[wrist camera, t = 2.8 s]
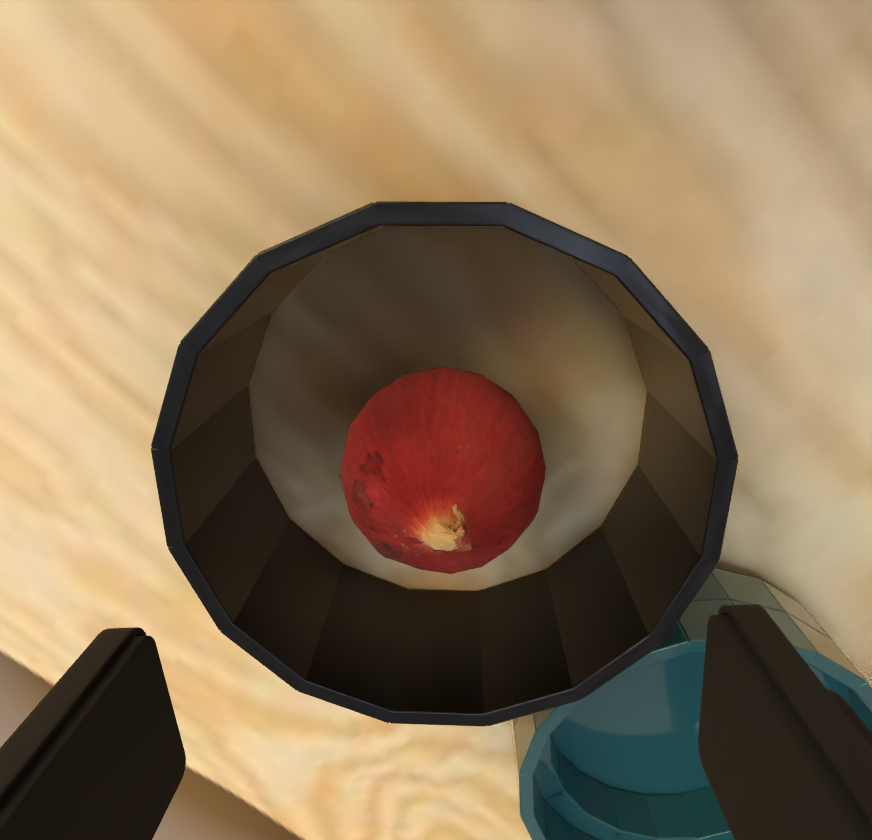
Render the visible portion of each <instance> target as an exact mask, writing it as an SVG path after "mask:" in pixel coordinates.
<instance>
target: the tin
mask: <svg viewBox="0 0 872 840" xmlns="http://www.w3.org/2000/svg"><path fill="white" fill-rule="evenodd" d="M387 226H502V227H505V228H508V229H510V230H512V231H514V232H517V233H519V234H521V235H523V236H526V237H528V238H530V239H532V240H535V241H537V242H539V243H541V244H544V245H546V246H548V247H550V248H553V249H555V250H557V251H559V252H562V253H564V254H566V255H568V256H570V257H572V258H573V260H574V261H575V262H576V263H577V264H578V265H579V266H580V267H581V268H582V270H583V271H584V272H585V273H586V274H587V275H588V276H589V277H590V279H591V280H592V281H593V282H594V283H595V284H596V285H597V286H598V288H599V289H600V290H601V291H602V292H603V293H604V294H605V295H606V297H607V298H608V299H609V300H610V301H611V302H612V303H613V304H614V305H615V307H616V308H617V309H618V310H619V311H620V312H621V313H622V314H623V316H624V317H625V320H626V324H627V327H628V330H629V333H630V337H631V340H632V343H633V346H634V350H635V353H636V356H637V359H638V363H639V366H640V369H641V372H642V376H643V379H644V382H645V385H646V389H647V397H646V405H645V413H644V421H643V429H642V437H641V444H640V452H639V460H638V465H637V467H636V469H635V470H634V472H633V474H632V475H631V477H630V479H629V481H628V482H627V484H626V486H625V487H624V489H623V491H622V492H621V494H620V496H619V498H618V499H617V501H616V503H615V504H614V506H613V508H612V509H611V511H610V513H609V515H608V516H607V518H606V520H605V521H604V523H603V525H602V526H601V527H600V528H599V529H597V530H596V531H595V532H594V533H592V534H591V535H590V536H588V537H587V538H586V539H585V540H583V541H582V542H581V543H579V544H578V545H577V546H576V547H574V548H573V549H572V550H570V551H569V552H568V553H567V554H565V555H564V556H563V557H561V558H560V559H559V560H558V561H556V562H555V563H554V564H552V565H551V566H550V567H549V568H547V569H546V570H544V571H541V572H537V573H534V574H531V575H528V576H525V577H522V578H519V579H516V580H512V581H509V582H506V583H503V584H500V585H497V586H494V587H491V588H487V589H484V590H481V591H446V590H409V589H406V588H403V587H401V586H398V585H395V584H393V583H390V582H387V581H385V580H382V579H379V578H377V577H374V576H371V575H369V574H366V573H363V572H361V571H358V570H355V569H353V568H350V567H347V566H345V565H343V564H341V563H340V562H339V561H338V560H337V559H336V558H334V557H333V556H332V555H331V554H330V553H328V552H327V551H326V550H325V549H324V548H323V547H321V546H320V545H319V544H318V543H317V542H316V541H314V540H313V539H312V538H311V537H310V536H308V535H307V534H306V533H305V532H304V531H303V530H301V529H300V528H299V527H298V526H297V525H296V524H294V523H293V522H292V521H291V520H290V519H289V518H288V516H287V514H286V512H285V511H284V509H283V507H282V505H281V503H280V501H279V500H278V498H277V496H276V494H275V492H274V490H273V489H272V487H271V485H270V483H269V481H268V479H267V478H266V476H265V474H264V472H263V470H262V468H261V467H260V465H259V463H258V461H257V459H256V457H255V449H254V440H253V430H252V420H251V411H250V401H249V392H248V383H249V380H250V377H251V374H252V371H253V367H254V364H255V361H256V358H257V355H258V352H259V349H260V346H261V343H262V340H263V336H264V333H265V330H266V327H267V324H268V321H269V318H270V315H271V312H272V311H273V310H274V309H275V308H276V307H277V306H278V305H279V304H280V303H281V301H282V300H283V299H284V298H285V297H286V296H287V295H288V294H289V293H290V292H291V290H292V289H293V288H294V287H295V286H296V285H297V284H298V283H299V282H300V281H301V279H302V278H303V277H304V276H305V275H306V274H307V273H308V272H309V271H310V270H311V268H312V267H313V266H314V265H315V264H316V263H317V262H318V261H319V260H320V259H321V257H322V256H323V255H324V254H325V253H327V252H329V251H332V250H334V249H336V248H338V247H341V246H343V245H345V244H348V243H350V242H352V241H355V240H357V239H359V238H361V237H364V236H366V235H368V234H371V233H373V232H375V231H377V230H380V229H382V228H384V227H387ZM180 343H181V344H179V346H178V350H177V353H176V357H175V360H174V364H173V368H172V371H171V375H170V379H169V382H168V386H167V390H166V393H165V397H164V401H163V404H162V408H161V412H160V415H159V419H158V422H157V426H156V430H155V433H154V437H153V441H152V444H151V447H152V448H151V452H152V458H153V464H154V470H155V476H156V482H157V488H158V494H159V500H160V506H161V512H162V518H163V524H164V530H165V536H166V542H167V546H168V547H169V548H168V549H169V551H170V553H171V554H172V556H173V557H174V559H175V560H176V562H177V564H178V565H179V567H180V568H181V570H182V572H183V573H184V575H185V576H186V578H187V580H188V581H189V583H190V584H191V586H192V588H193V589H194V591H195V592H196V594H197V595H198V597H199V599H200V600H201V602H202V603H203V605H204V607H205V608H206V610H207V611H208V613H209V615H210V616H211V618H212V619H213V621H214V622H215V624H216V626H217V627H218V629H219V630H221V633H223V634H224V635H225V636H227V637H228V638H229V639H230V640H232V641H233V642H234V643H236V644H237V645H238V646H240V647H241V648H242V649H243V650H245V651H246V652H247V653H249V654H250V655H251V656H253V657H254V658H255V659H256V660H258V661H259V662H260V663H262V664H263V665H264V666H265V667H267V668H268V669H269V670H271V671H272V672H273V673H275V674H276V675H277V676H278V677H280V678H281V679H282V680H284V681H285V682H286V683H287V684H289V685H290V686H291V687H293V688H294V689H295V690H298V691H299V692H302V693H304V694H307V695H310V696H313V697H316V698H319V699H322V700H324V701H327V702H330V703H333V704H336V705H339V706H341V707H344V708H347V709H350V710H353V711H356V712H359V713H361V714H364V715H367V716H370V717H373V718H376V719H378V720H381V721H384V722H387V723H389V722H390V723H400V724H429V725H459V726H486V725H487V726H490V725H494V724H497V723H501V722H505V721H508V720H512V719H515V718H519V717H522V716H526V715H529V714H533V713H537V712H540V711H544V710H547V709H551V708H554V707H558V706H562V705H565V704H569V703H572V702H576V701H579V700H580V699H583V698H585V697H586V696H588V695H589V694H591V693H592V692H594V691H595V690H596V689H598V688H599V687H601V686H602V685H604V684H605V683H607V682H608V681H609V680H611V679H612V678H614V677H615V676H617V675H618V674H620V673H621V672H623V671H624V670H625V669H627V668H628V667H630V666H631V665H633V664H634V663H636V662H637V661H639V660H640V659H641V658H643V657H644V656H646V655H647V654H649V653H650V652H652V651H653V650H654V649H656V648H657V647H659V646H660V645H661V644H662V643H663V642H664V641H665V640H666V638H667V637H668V635H669V634H670V632H671V631H672V629H673V628H674V626H675V625H676V624H677V622H678V621H679V619H680V618H681V616H682V615H683V613H684V612H685V610H686V609H687V607H688V606H689V605H690V603H691V602H692V600H693V599H694V597H695V596H696V594H697V593H698V591H699V590H700V588H701V587H702V586H703V584H704V583H705V581H706V580H707V578H708V577H709V575H710V574H711V572H712V571H713V569H714V568H715V566H716V565H717V564H718V560H719V559H720V554H721V549H722V544H723V538H724V533H725V528H726V522H727V517H728V512H729V506H730V501H731V496H732V490H733V485H734V480H735V474H736V469H737V464H738V454H737V450H736V446H735V442H734V439H733V435H732V431H731V427H730V424H729V420H728V416H727V412H726V409H725V405H724V401H723V398H722V394H721V390H720V386H719V383H718V379H717V375H716V371H715V368H714V364H713V360H712V356H711V353H710V351H709V350H708V347H707V346H706V345H705V344H704V342H703V341H702V340H701V339H700V338H699V337H698V335H697V334H696V333H695V332H694V331H693V330H692V328H691V327H690V326H689V325H688V324H687V323H686V322H685V320H684V319H683V318H682V317H681V316H680V315H679V313H678V312H677V311H676V310H675V309H674V308H673V307H672V305H671V304H670V303H669V302H668V301H667V300H666V298H665V297H664V296H663V295H662V294H661V293H660V291H659V290H658V289H657V288H656V287H655V286H654V285H653V283H652V282H651V281H650V280H649V279H648V278H647V276H646V275H645V274H644V273H643V272H642V271H641V269H640V268H639V267H638V266H637V265H636V264H635V263H634V261H633V260H632V259H631V258H629V257H628V256H627V255H625V254H623V253H621V252H618V251H616V250H614V249H612V248H610V247H607V246H605V245H603V244H601V243H598V242H596V241H594V240H592V239H590V238H587V237H585V236H583V235H581V234H578V233H576V232H574V231H572V230H570V229H567V228H565V227H563V226H561V225H559V224H556V223H554V222H552V221H550V220H547V219H545V218H543V217H541V216H539V215H536V214H534V213H532V212H530V211H527V210H525V209H523V208H521V207H519V206H516V205H514V204H512V203H507V202H375V203H370V204H368V205H365V206H363V207H361V208H359V209H356V210H354V211H352V212H350V213H347V214H345V215H343V216H341V217H338V218H336V219H334V220H332V221H329V222H327V223H325V224H323V225H320V226H318V227H316V228H314V229H311V230H309V231H307V232H305V233H302V234H300V235H298V236H296V237H293V238H291V239H289V240H287V241H284V242H282V243H280V244H278V245H275V246H273V247H271V248H269V249H266V250H264V251H262V252H260V253H259V254H258V255H256V256H254V258H253V259H252V260H251V261H250V262H249V263H248V264H247V266H246V267H245V268H244V269H243V270H242V271H241V272H240V274H239V275H238V276H237V277H236V278H235V279H234V281H233V282H232V283H231V284H230V285H229V286H228V287H227V289H226V290H225V291H224V292H223V293H222V294H221V295H220V297H219V298H218V299H217V300H216V301H215V302H214V304H213V305H212V306H211V307H210V308H209V309H208V310H207V312H206V313H205V314H204V315H203V316H202V317H201V318H200V320H199V321H198V322H197V323H196V324H195V325H194V327H193V328H192V329H191V330H190V331H189V332H188V333H187V335H186V336H185V337H184V338H183V339H182V340H181V342H180Z"/></svg>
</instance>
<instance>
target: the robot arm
mask: <svg viewBox="0 0 872 840" xmlns="http://www.w3.org/2000/svg"><path fill="white" fill-rule="evenodd" d="M698 750H699V756H700V760H701V763H702V766H703V769H704V771H705V774H706V776H707V778H708V780H709V783H710V785H711V787H712V790H713V792H714V794H715V796H716V799H717V801H718V803H719V806H720V808H721V810H722V812H723V815H724V817H725V819H726V822H727V824H728V826H729V828H730V831H731V833H732V835H733V838H734V840H872V733H871V732H870V731H869V730H868V728H867V727H866V726H865V724H864V723H863V722H862V721H861V719H860V718H859V717H858V716H857V714H856V713H855V712H854V711H853V709H852V708H851V707H850V706H849V704H848V703H847V702H846V701H845V700H844V699H843V698H842V697H841V696H840V695H839V694H838V693H836V692H834V691H832V690H827V689H826V688H825V687H824V685H823V684H822V683H821V681H820V680H819V679H818V677H817V676H816V675H815V674H814V672H813V671H812V670H811V668H810V667H809V666H808V664H807V663H806V662H805V661H804V659H803V658H802V657H801V655H800V654H799V653H798V652H797V650H796V649H795V648H794V646H793V645H792V644H791V642H790V641H789V640H788V639H787V637H786V636H785V635H784V633H783V632H782V631H781V629H780V628H779V627H778V626H777V624H776V623H775V622H774V620H773V619H772V618H771V616H770V615H769V614H768V613H767V611H766V610H765V609H764V608H763V607H762V606H761V605H759V604H744V605H723V606H721V607H720V609H719V612H718V615H711V616H710V617H709V619H708V625H707V637H706V649H705V662H704V674H703V686H702V698H701V710H700V722H699V735H698ZM185 764H186V757H185V751H184V748H183V744H182V740H181V737H180V733H179V729H178V725H177V722H176V718H175V714H174V710H173V707H172V703H171V699H170V695H169V692H168V688H167V684H166V680H165V677H164V673H163V669H162V665H161V662H160V658H159V654H158V651H157V647H156V643H155V641H154V639H153V638H152V637H151V636H146V633H145V632H144V630H143V629H141V628H113V629H106V630H103V631H102V632H101V633H100V634H99V635H98V636H97V637H96V638H95V639H94V640H93V641H92V643H91V644H90V645H89V646H88V647H87V648H86V650H85V651H84V652H83V653H82V654H81V655H80V657H79V658H78V659H77V660H76V661H75V662H74V663H73V665H72V666H71V667H70V668H69V669H68V670H67V672H66V673H65V674H64V675H63V676H62V677H61V679H60V680H59V681H58V682H57V683H56V684H55V685H54V687H53V688H52V689H51V690H50V691H49V692H48V694H47V695H46V696H45V697H44V698H43V699H42V701H41V702H40V703H39V704H38V705H37V707H35V709H34V710H33V711H32V712H31V713H30V714H29V716H28V717H27V718H26V719H25V720H24V721H23V723H22V724H21V725H20V726H19V727H18V728H17V730H16V731H15V732H14V733H13V734H12V735H11V736H10V738H9V739H8V740H7V741H6V742H5V743H4V745H3V746H2V747H1V748H0V840H152V838H153V836H154V834H155V832H156V830H157V828H158V826H159V824H160V822H161V820H162V818H163V816H164V814H165V812H166V810H167V808H168V806H169V804H170V802H171V800H172V798H173V796H174V794H175V792H176V790H177V788H178V786H179V784H180V782H181V779H182V777H183V774H184V770H185Z"/></svg>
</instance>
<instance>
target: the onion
mask: <svg viewBox="0 0 872 840" xmlns="http://www.w3.org/2000/svg"><path fill="white" fill-rule="evenodd" d="M340 478H341V482H342V486H343V490H344V494H345V498H346V501H347V505H348V509H349V513H350V515H351V518H352V520H353V522H354V523H355V525H356V526H357V527H358V528H359V529H360V531H361V532H362V533H363V534H364V536H365V537H366V538H367V539H368V540H369V542H370V543H371V544H372V545H373V546H374V548H375V549H376V550H377V551H378V552H379V553H380V554H381V555H383V556H384V557H386V558H389V559H392V560H395V561H398V562H401V563H404V564H407V565H409V566H412V567H415V568H418V569H422V570H428V571H435V572H442V573H448V574H452V573H456V572H460V571H465V570H469V569H474V568H479V567H482V566H484V565H485V564H487V563H488V562H490V561H491V560H493V559H494V558H496V557H497V556H499V555H501V554H502V553H504V552H505V551H507V550H508V549H509V548H510V547H511V546H512V545H513V544H514V543H515V542H516V540H517V539H518V538H519V537H520V535H521V534H522V533H523V532H524V531H525V529H526V528H527V527H528V526H529V525H530V523H531V522H532V521H533V519H534V518H535V516H536V514H537V512H538V508H539V503H540V498H541V493H542V488H543V484H544V479H545V463H544V458H543V453H542V449H541V444H540V439H539V434H538V431H537V430H536V428H535V427H534V426H533V424H532V423H531V421H530V420H529V418H528V417H527V415H526V414H525V412H524V411H523V409H522V408H521V407H520V405H519V404H518V402H517V401H516V399H515V398H514V397H513V396H512V395H511V394H510V393H508V392H507V391H505V390H504V389H502V388H501V387H499V386H498V385H496V384H495V383H493V382H492V381H490V380H489V379H487V378H486V377H484V376H483V375H481V374H476V373H471V372H467V371H462V370H458V369H453V368H449V367H438V368H433V369H428V370H423V371H418V372H412V373H407V374H405V375H404V376H402V377H400V378H399V379H397V380H396V381H394V382H393V383H391V384H389V385H388V386H386V387H385V388H383V389H381V390H380V391H378V392H377V393H376V394H375V395H374V396H372V397H371V398H370V399H369V401H368V402H367V403H366V405H365V406H364V408H363V409H362V410H361V412H360V413H359V414H358V416H357V417H356V418H355V420H354V421H353V422H352V424H351V425H350V427H349V429H348V434H347V439H346V444H345V449H344V454H343V459H342V465H341V471H340Z"/></svg>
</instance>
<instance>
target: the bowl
mask: <svg viewBox="0 0 872 840" xmlns="http://www.w3.org/2000/svg"><path fill="white" fill-rule="evenodd" d="M744 604H759V605H761V606H762V607H763V608H764V609H765V610H766V611H767V613H768V614H769V615H770V616H771V618H772V619H773V620H774V622H775V623H776V624H777V626H778V627H779V628H780V629H781V631H782V632H783V633H784V635H785V636H786V637H787V639H788V640H789V641H790V642H791V644H792V645H793V646H794V648H795V649H796V650H797V652H798V653H799V654H800V655H801V657H802V658H803V659H804V661H805V662H806V663H807V664H808V666H809V667H810V668H811V670H812V671H813V672H814V674H815V675H816V676H817V677H818V679H819V680H820V681H821V683H822V684H823V685H824V687H825V688H826V689H827V690H832V691H834V692H836V693H838V694H839V695H840V696H841V697H842V698H843V699H844V700H845V701H846V702H847V703H848V704H849V706H850V707H851V708H852V709H853V711H854V712H855V713H856V714H857V716H858V717H859V718H860V719H861V721H862V722H863V723H864V724H865V726H866V727H867V728H868V730H869V731H870V732H871V733H872V687H871V685H870V684H869V683H868V682H867V680H866V679H865V678H864V677H863V676H862V674H861V673H860V672H859V671H858V670H857V669H856V667H855V666H854V665H853V664H852V663H851V662H850V660H849V659H848V658H847V657H846V656H845V655H844V653H843V652H842V651H841V650H840V649H839V647H838V646H837V645H836V644H835V643H834V642H833V641H832V639H831V638H830V637H829V636H828V635H827V633H826V632H825V631H824V630H823V629H822V628H821V626H820V625H819V624H818V623H817V622H816V621H815V619H814V618H813V617H812V616H811V615H810V613H809V612H808V611H807V610H806V609H805V608H804V606H802V605H801V604H800V603H798V602H797V601H795V600H794V599H792V598H790V597H789V596H787V595H785V594H784V593H782V592H780V591H779V590H777V589H775V588H774V587H772V586H770V585H769V584H767V583H765V582H764V581H762V580H759V579H758V578H754V577H750V576H746V575H742V574H737V573H733V572H729V571H725V570H720V569H716V568H714V569H713V571H712V572H711V574H710V575H709V577H708V578H707V580H706V581H705V583H704V584H703V586H702V587H701V588H700V590H699V591H698V593H697V594H696V596H695V597H694V599H693V600H692V602H691V603H690V605H689V606H688V607H687V609H686V610H685V612H684V613H683V615H682V616H681V618H680V619H679V621H678V622H677V624H676V625H675V626H674V628H673V629H672V631H671V632H670V634H669V635H668V637H667V638H666V640H665V641H664V642H663V643H662V644H661V645H660V646H659V647H657V648H656V649H654V650H653V651H652V652H650V653H649V654H647V655H646V656H644V657H643V658H641V659H640V660H639V661H637V662H636V663H634V664H633V665H631V666H630V667H628V668H627V669H625V670H624V671H623V672H621V673H620V674H618V675H617V676H615V677H614V678H612V679H611V680H609V681H608V682H607V683H605V684H604V685H602V686H601V687H599V688H598V689H596V690H595V691H594V692H592V693H591V694H589V695H588V696H586V697H585V698H583V699H580V700H579V701H576V702H572V703H569V704H565V705H562V706H558V707H554V708H551V709H547V710H544V711H540V712H537V713H533V714H529V715H526V716H522V717H519V718H515V719H512V720H511V727H512V737H513V748H514V758H515V768H516V778H517V789H518V799H519V809H520V815H521V818H522V820H523V822H524V824H525V826H526V828H527V830H528V832H529V834H530V837H531V839H532V840H734V838H733V835H732V833H731V831H730V828H729V826H728V824H727V822H726V819H725V817H724V815H723V812H722V810H721V808H720V806H719V803H718V801H717V799H716V796H715V794H714V792H713V790H712V787H711V785H710V783H709V780H708V778H707V776H706V774H705V771H704V769H703V766H702V763H701V760H700V756H699V750H698V735H699V722H700V710H701V698H702V686H703V674H704V662H705V649H706V637H707V625H708V619H709V617H710V616H711V615H718V612H719V609H720V607H721V606H723V605H744Z"/></svg>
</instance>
